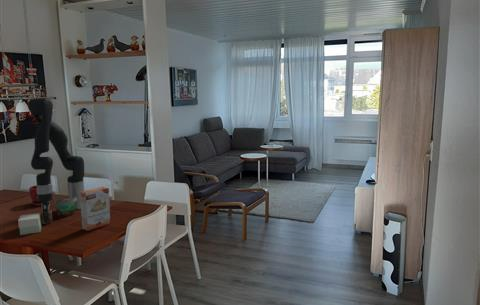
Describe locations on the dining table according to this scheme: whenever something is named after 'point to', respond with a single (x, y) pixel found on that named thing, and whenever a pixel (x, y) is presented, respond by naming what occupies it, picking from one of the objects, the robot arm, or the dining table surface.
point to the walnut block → (48, 216)
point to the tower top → (29, 220)
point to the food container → (66, 207)
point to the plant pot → (35, 196)
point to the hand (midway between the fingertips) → (47, 219)
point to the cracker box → (95, 208)
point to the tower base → (30, 229)
